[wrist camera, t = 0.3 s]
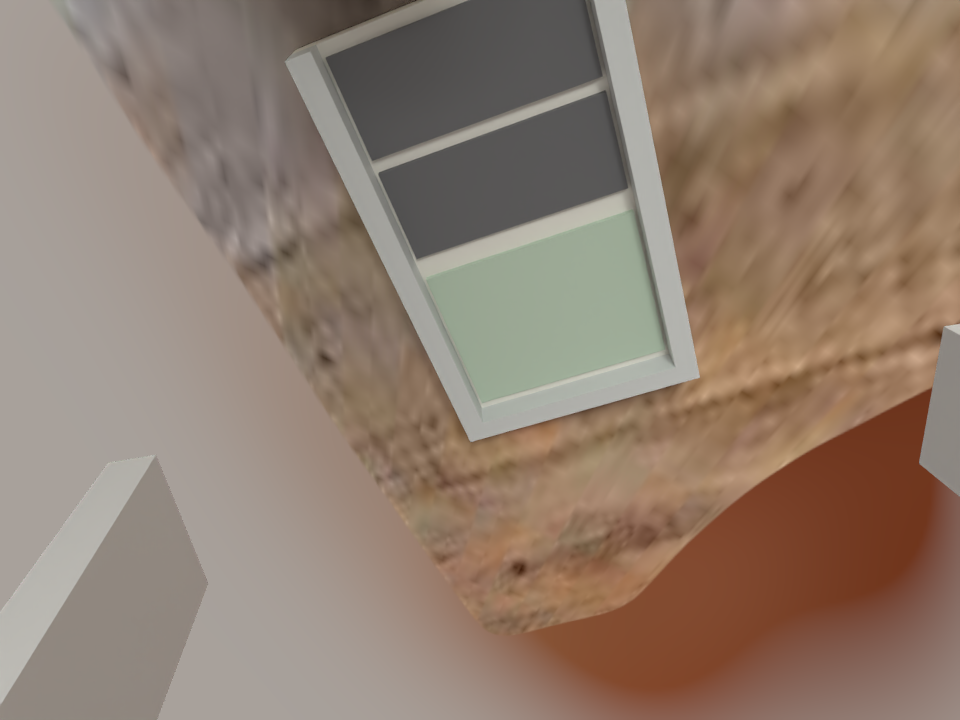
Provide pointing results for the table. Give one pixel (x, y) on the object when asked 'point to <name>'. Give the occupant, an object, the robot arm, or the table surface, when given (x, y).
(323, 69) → the box
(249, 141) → the table surface
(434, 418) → the table surface
